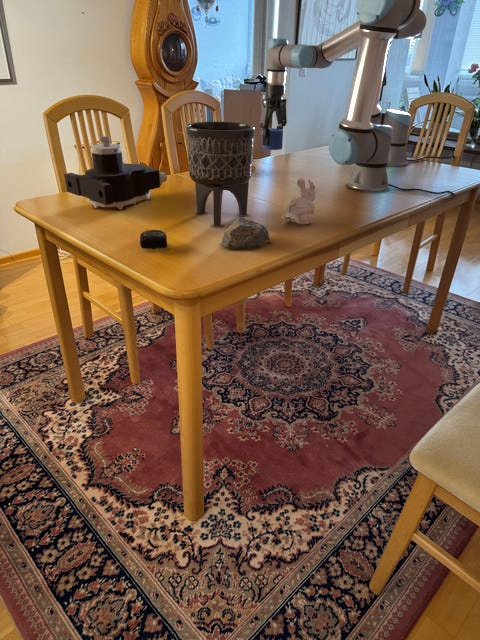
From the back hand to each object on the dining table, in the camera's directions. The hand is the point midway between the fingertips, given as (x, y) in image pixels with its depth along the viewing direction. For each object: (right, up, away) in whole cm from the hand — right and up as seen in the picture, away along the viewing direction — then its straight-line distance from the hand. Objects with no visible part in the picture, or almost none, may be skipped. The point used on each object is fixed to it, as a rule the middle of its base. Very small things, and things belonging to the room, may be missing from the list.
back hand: (372, 99), depth 240 cm
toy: (-69, -53, -44) cm, 98 cm away
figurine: (-53, -87, -102) cm, 144 cm away
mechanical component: (-109, -76, -86) cm, 159 cm away
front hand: (-57, -42, -49) cm, 86 cm away
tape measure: (-92, -99, -123) cm, 183 cm away
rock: (-68, -97, -119) cm, 168 cm away
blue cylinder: (-57, -44, -48) cm, 86 cm away
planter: (-77, -85, -99) cm, 152 cm away
